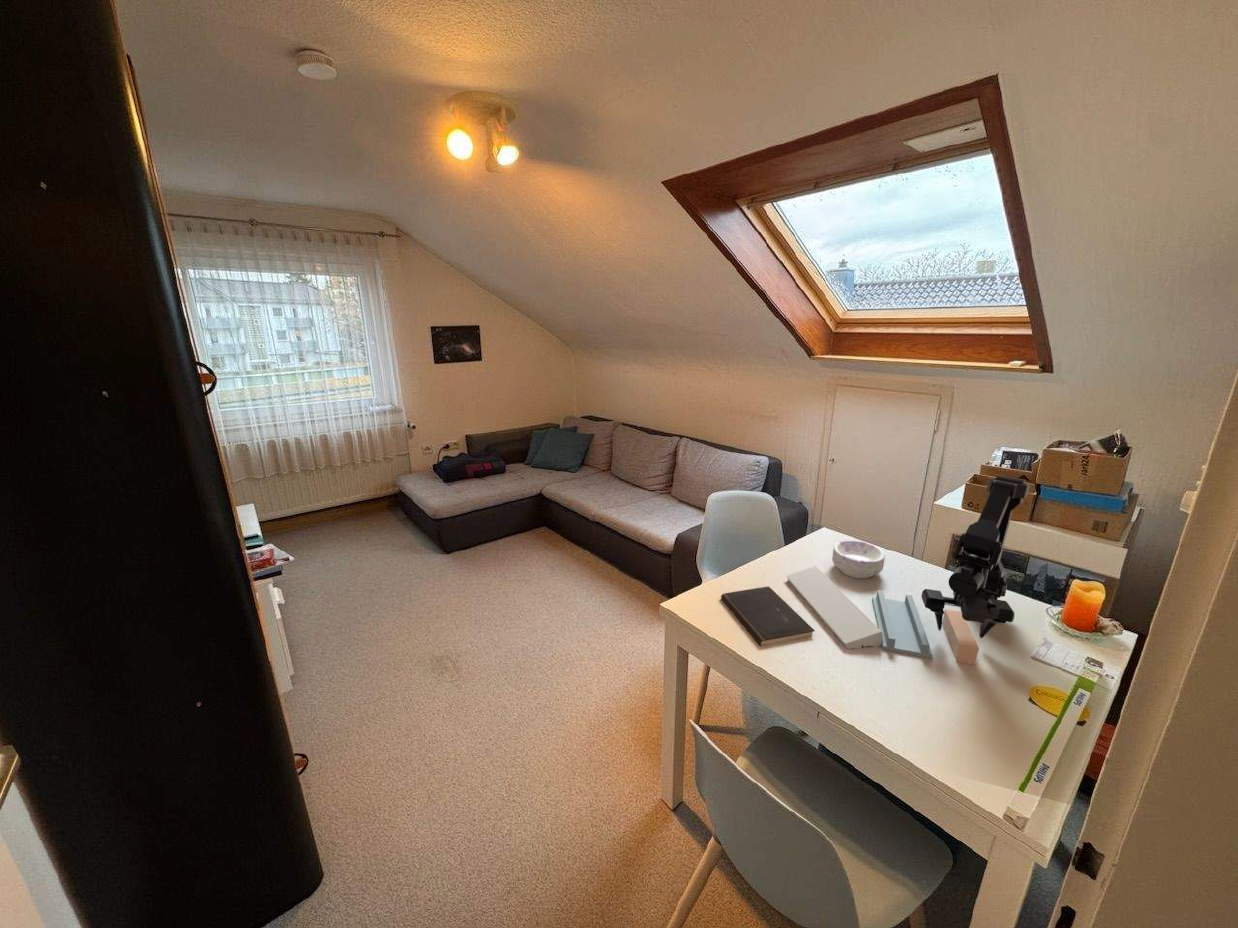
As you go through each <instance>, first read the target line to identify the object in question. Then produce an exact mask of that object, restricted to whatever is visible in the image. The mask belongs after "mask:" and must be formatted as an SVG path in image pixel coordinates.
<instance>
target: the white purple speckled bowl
mask: <svg viewBox="0 0 1238 928" xmlns="http://www.w3.org/2000/svg"><path fill="white" fill-rule="evenodd" d="M885 558H886V555H885V552H884V551H883V550H882V549H881V548H880V547H878V546H877V545H874V544H873V543H869V542H866V541H861V540H854V539H847V540H840V541H837V542H836V543H835V544H834V545H833V550H832V558H831V559H832V563H833V564H834V566H836V568H838V569H839V570H840V572H842V573H843V574H845V575H846V576H848V577H852V578H854V579H868V578H871V577H873V576H874V575H877V574H880V573H881V572H882V571H883V570H884V564H885Z"/></svg>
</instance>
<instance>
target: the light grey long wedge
mask: <svg viewBox="0 0 1238 928" xmlns="http://www.w3.org/2000/svg"><path fill="white" fill-rule="evenodd" d="M785 577H786V578H787V580H788V582H789V584H791V585H792V586H793V588H794V589H795V590H796V591H797V592H798V593H799V595H801V597H802V598H803V599H804V601H805V602H806V603H807V604H808V605H809V606H810V607H811V609H813V611H814V612H815V614H816V615H818V617H819V618H820V619H821V621H823V622H824V624H826V626H827V627H828V628H829V630H831V632H832V633H833V635H835V637H837V638H838V640H839V641H840V642H841V643H842V645H843V646H844V647H845V648H846V649H847V650H850V649H860V648H866V647H873V648H874V647H880V646H881V647H882V642H883V635H882V631H881V630H880V629H879V628H878V625H877V624H875V623H874V622H873V621H872V620H871V619H870V618H868V616H867V615H866V614H865V613H864V612H863V611H862V610H861V609H860V608H859V607H858V606H857V605H856V604H855V603H854V602H853V601H852V600H851V599H850V598H849V597H848V596H847V595H845V593H843V591H841V589H839V587H837V586H836V584H834V582H832V581H831V579H829V577H827V576H826V575H825V574H824V573H823V571H821V569H819V568H818V567H817V566H816V565H814V566H812V567H809V568H805V569H802V570H800V571H797V572H793V573H790V574H788V575H786V576H785Z"/></svg>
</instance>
